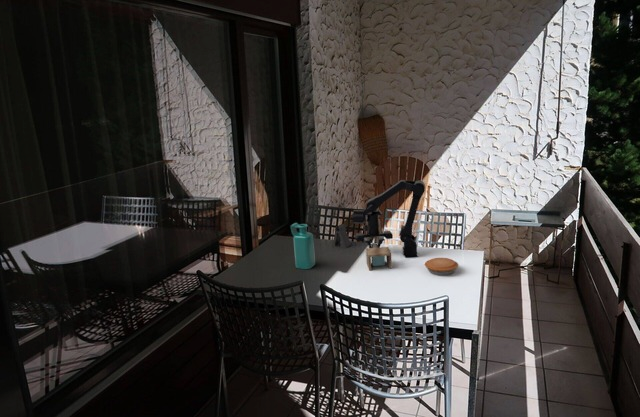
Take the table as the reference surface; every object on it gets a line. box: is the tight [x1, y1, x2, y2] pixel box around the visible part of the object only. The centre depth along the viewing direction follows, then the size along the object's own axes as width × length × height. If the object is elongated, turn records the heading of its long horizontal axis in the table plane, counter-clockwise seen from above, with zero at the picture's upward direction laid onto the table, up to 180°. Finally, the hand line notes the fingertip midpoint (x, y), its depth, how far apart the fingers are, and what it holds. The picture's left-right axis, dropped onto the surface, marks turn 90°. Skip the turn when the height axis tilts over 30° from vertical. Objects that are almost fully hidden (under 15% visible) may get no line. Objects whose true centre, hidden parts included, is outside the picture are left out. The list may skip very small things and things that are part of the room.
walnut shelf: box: [365, 246, 393, 271], centre depth 255 cm, size 11×10×8 cm
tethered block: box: [371, 242, 386, 267], centre depth 264 cm, size 6×18×6 cm, turn 2°
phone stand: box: [331, 223, 352, 249], centre depth 289 cm, size 9×6×12 cm, turn 55°
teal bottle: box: [289, 222, 316, 270], centre depth 260 cm, size 10×8×22 cm
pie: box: [423, 257, 459, 276], centre depth 244 cm, size 16×16×5 cm
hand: (374, 251), depth 271 cm, fingers closed on tethered block, 3 cm apart
